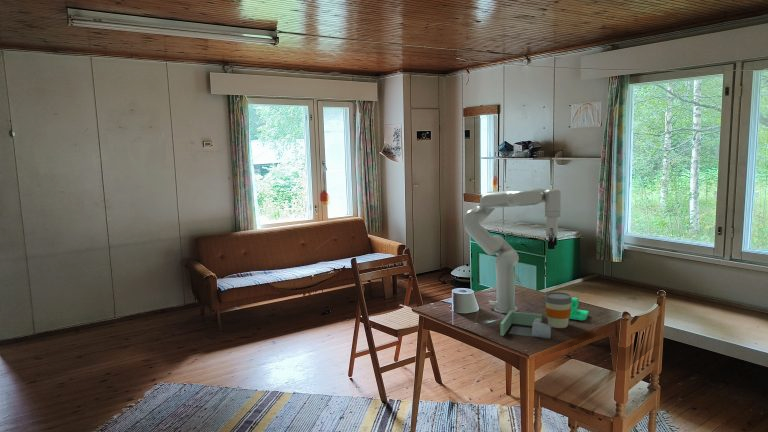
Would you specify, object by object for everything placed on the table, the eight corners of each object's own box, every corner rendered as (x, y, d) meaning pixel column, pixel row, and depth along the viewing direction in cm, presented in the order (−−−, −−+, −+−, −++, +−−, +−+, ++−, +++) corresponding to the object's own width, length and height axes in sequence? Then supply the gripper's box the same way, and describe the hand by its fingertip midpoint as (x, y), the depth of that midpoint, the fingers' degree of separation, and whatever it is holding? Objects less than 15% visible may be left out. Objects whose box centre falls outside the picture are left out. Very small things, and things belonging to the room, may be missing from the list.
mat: (508, 333, 250) (508, 333, 250) (513, 326, 260) (513, 325, 260) (533, 337, 245) (533, 336, 245) (537, 329, 255) (537, 328, 255)
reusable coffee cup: (577, 327, 256) (577, 297, 254) (554, 330, 252) (554, 300, 250) (561, 319, 268) (561, 290, 266) (539, 322, 264) (539, 293, 262)
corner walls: (500, 335, 248) (500, 323, 247) (509, 322, 266) (509, 310, 265) (534, 340, 241) (534, 327, 241) (541, 326, 259) (541, 314, 259)
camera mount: (582, 322, 263) (582, 302, 262) (566, 320, 268) (567, 300, 266) (589, 316, 273) (589, 296, 272) (573, 313, 277) (574, 294, 276)
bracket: (531, 335, 246) (532, 323, 245) (534, 330, 253) (535, 317, 253) (549, 338, 242) (550, 326, 242) (552, 332, 250) (553, 320, 249)
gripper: (547, 211, 277) (546, 243, 279) (542, 215, 261) (542, 250, 263) (562, 211, 274) (561, 244, 276) (558, 216, 258) (558, 250, 260)
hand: (552, 247), depth 270 cm, fingers open, 9 cm apart
